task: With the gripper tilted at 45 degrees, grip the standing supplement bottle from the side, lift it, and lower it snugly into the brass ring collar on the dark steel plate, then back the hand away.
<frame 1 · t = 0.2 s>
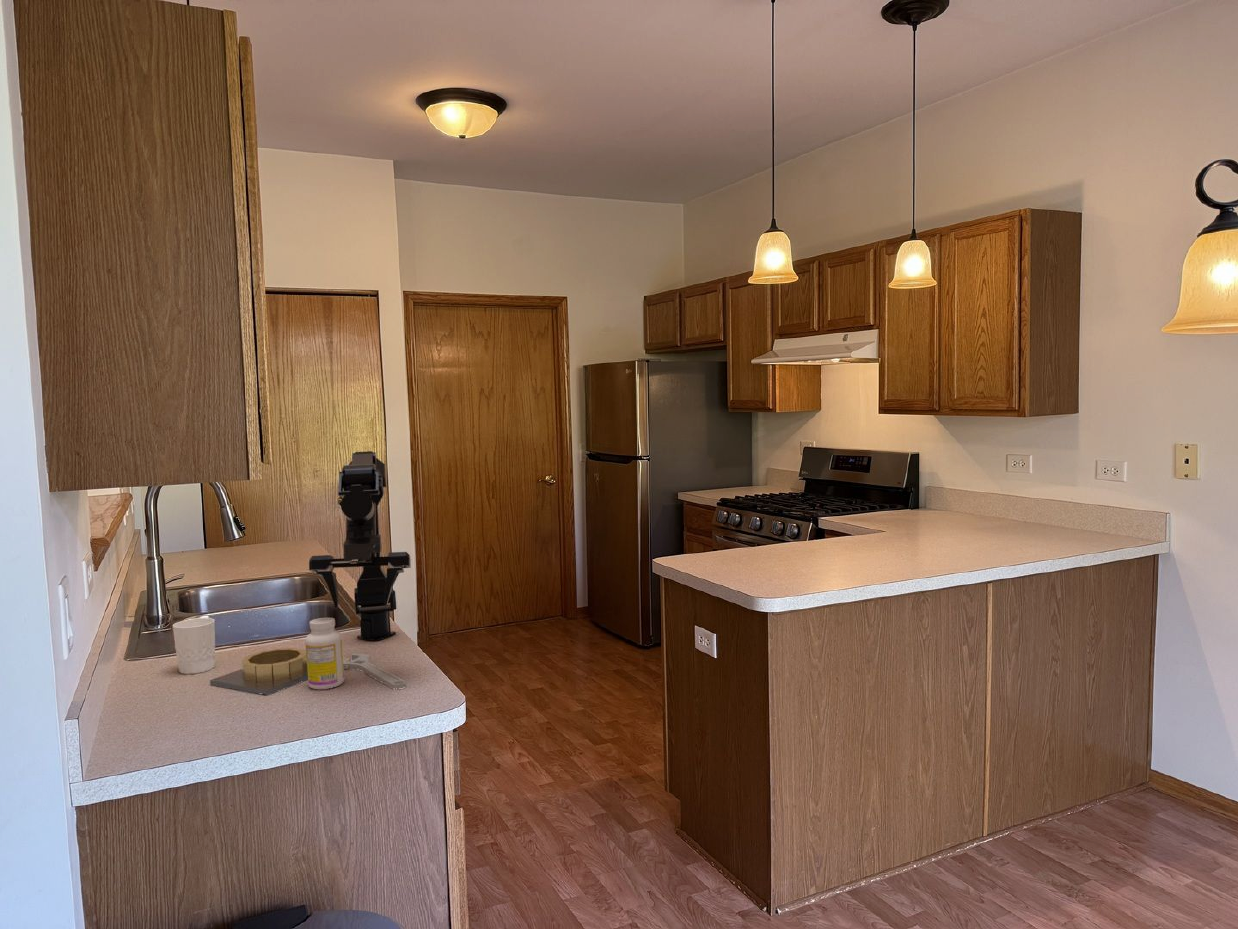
hand: (361, 606, 167), 15 cm above the countertop, tool tilted 15°, fingers open, 9 cm apart
white cup: (197, 670, 180), on the countertop
adjustable wrench: (370, 677, 173), on the countertop
ring collar: (275, 676, 174), on the countertop
supplement bottle: (326, 685, 167), on the countertop
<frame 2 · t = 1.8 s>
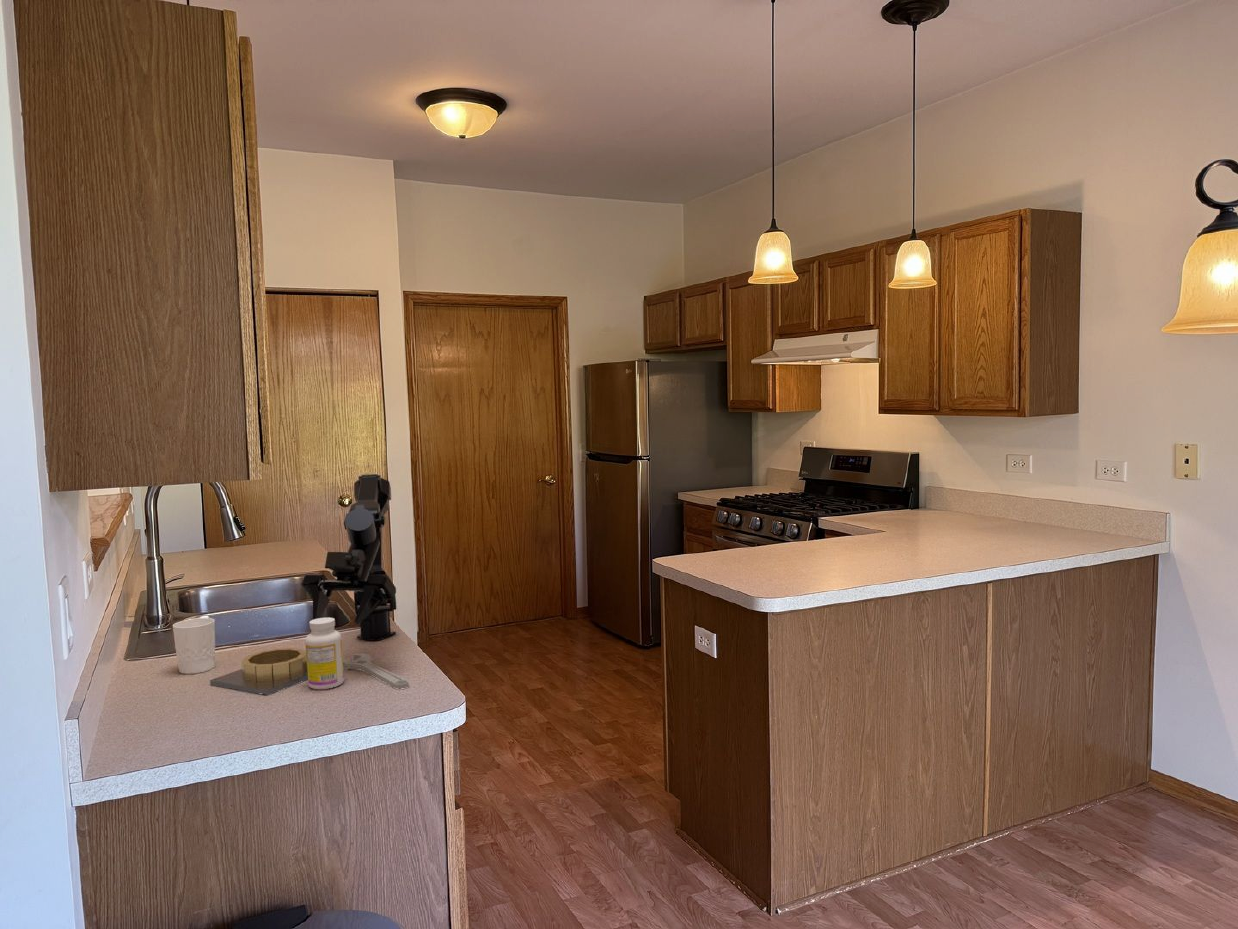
hand: (335, 622, 170), 11 cm above the countertop, tool tilted 45°, fingers open, 9 cm apart
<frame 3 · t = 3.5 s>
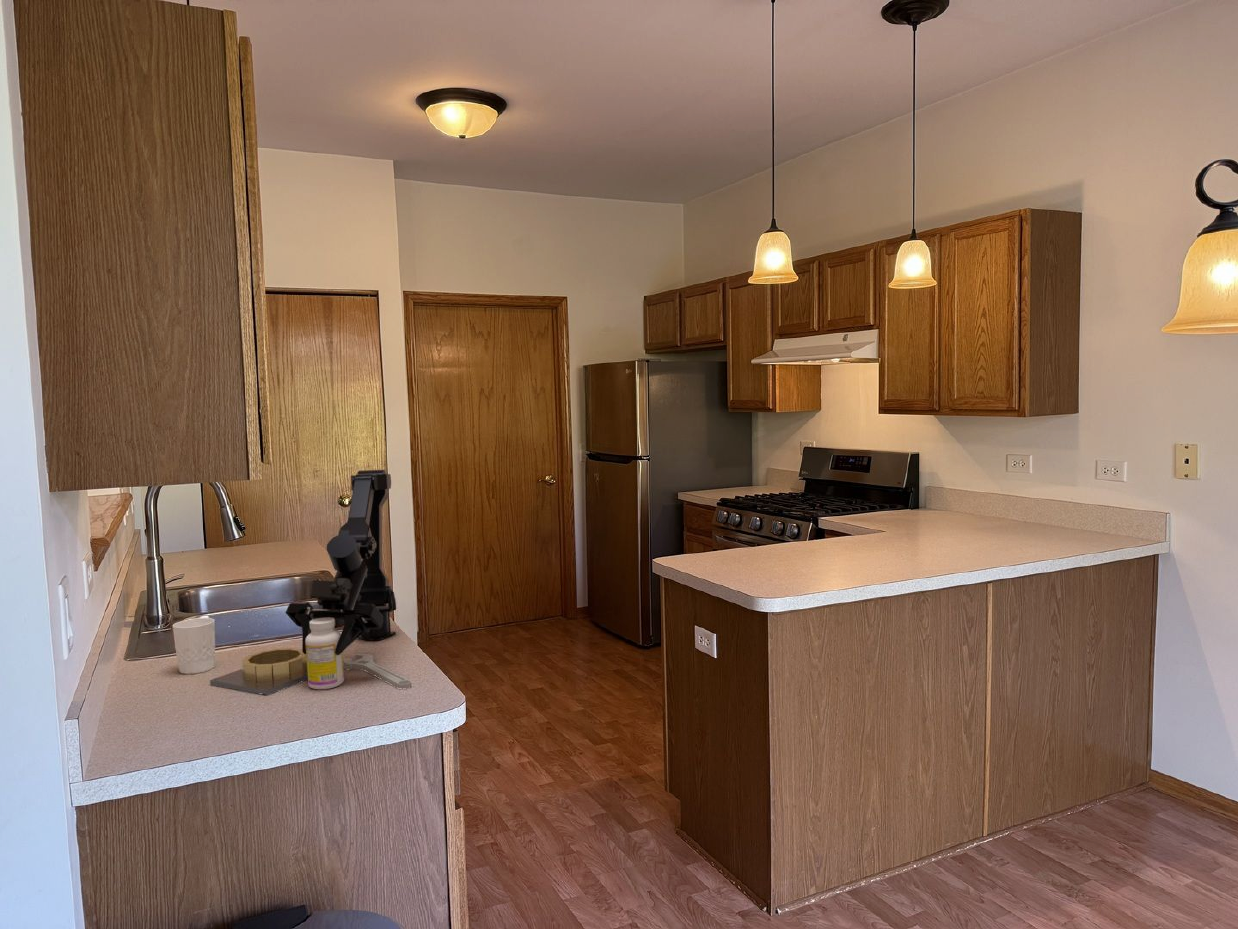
hand: (320, 653, 165), 7 cm above the countertop, tool tilted 45°, fingers closed on supplement bottle, 7 cm apart
supplement bottle: (326, 685, 167), on the countertop, touching gripper
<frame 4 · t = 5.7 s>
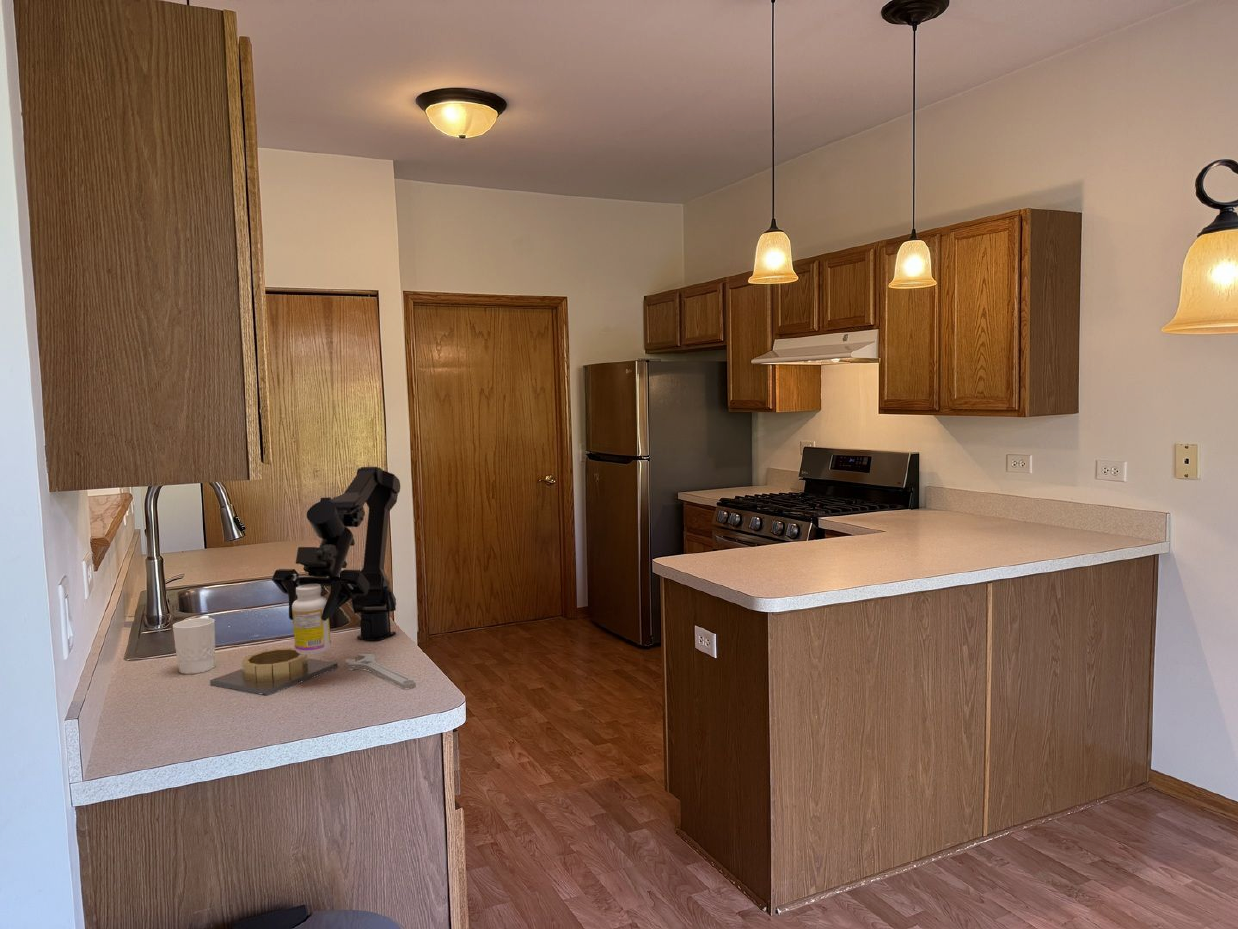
hand: (306, 619, 167), 13 cm above the countertop, tool tilted 45°, fingers closed on supplement bottle, 7 cm apart
supplement bottle: (313, 651, 169), point 6 cm above the countertop, touching gripper
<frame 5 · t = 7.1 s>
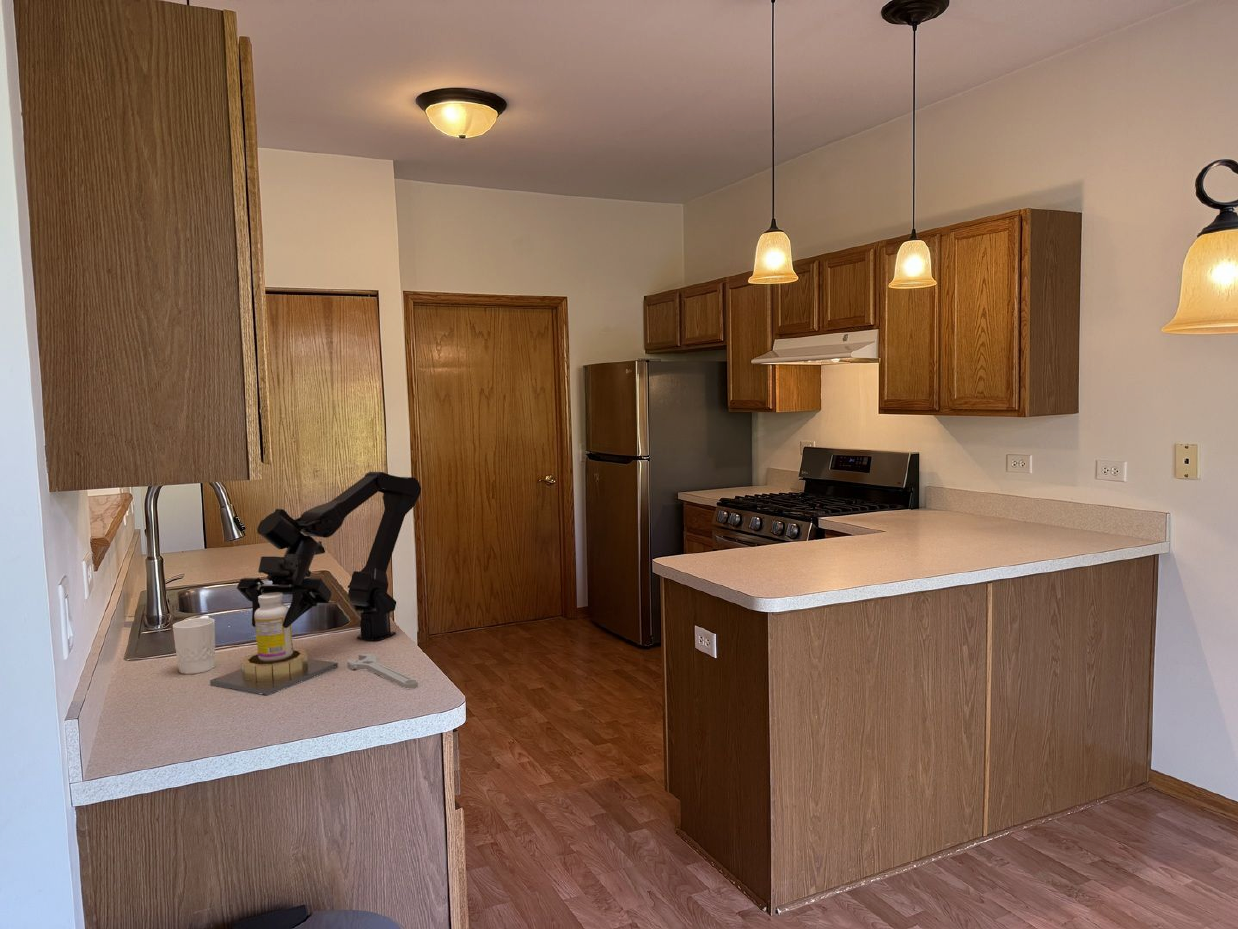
hand: (269, 626, 172), 11 cm above the countertop, tool tilted 45°, fingers closed on supplement bottle, 7 cm apart
supplement bottle: (275, 658, 173), point 4 cm above the countertop, touching gripper
when the fingers open (9 cm above the countertop, at t = 8.0 s): supplement bottle drops 1 cm, resting on ring collar.
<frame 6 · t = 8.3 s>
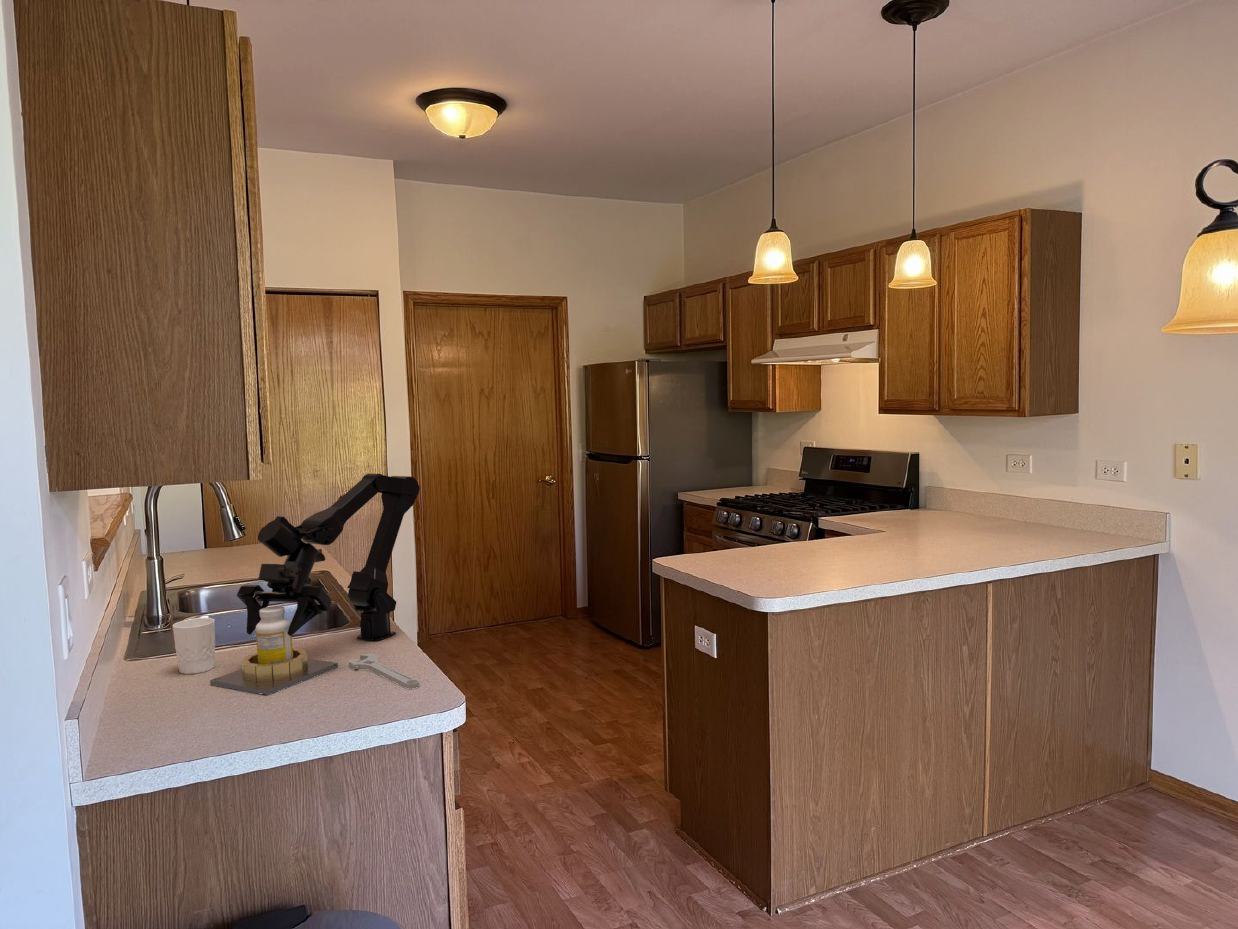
hand: (268, 634, 172), 9 cm above the countertop, tool tilted 45°, fingers open, 9 cm apart
supplement bottle: (276, 672, 174), point 1 cm above the countertop, touching ring collar
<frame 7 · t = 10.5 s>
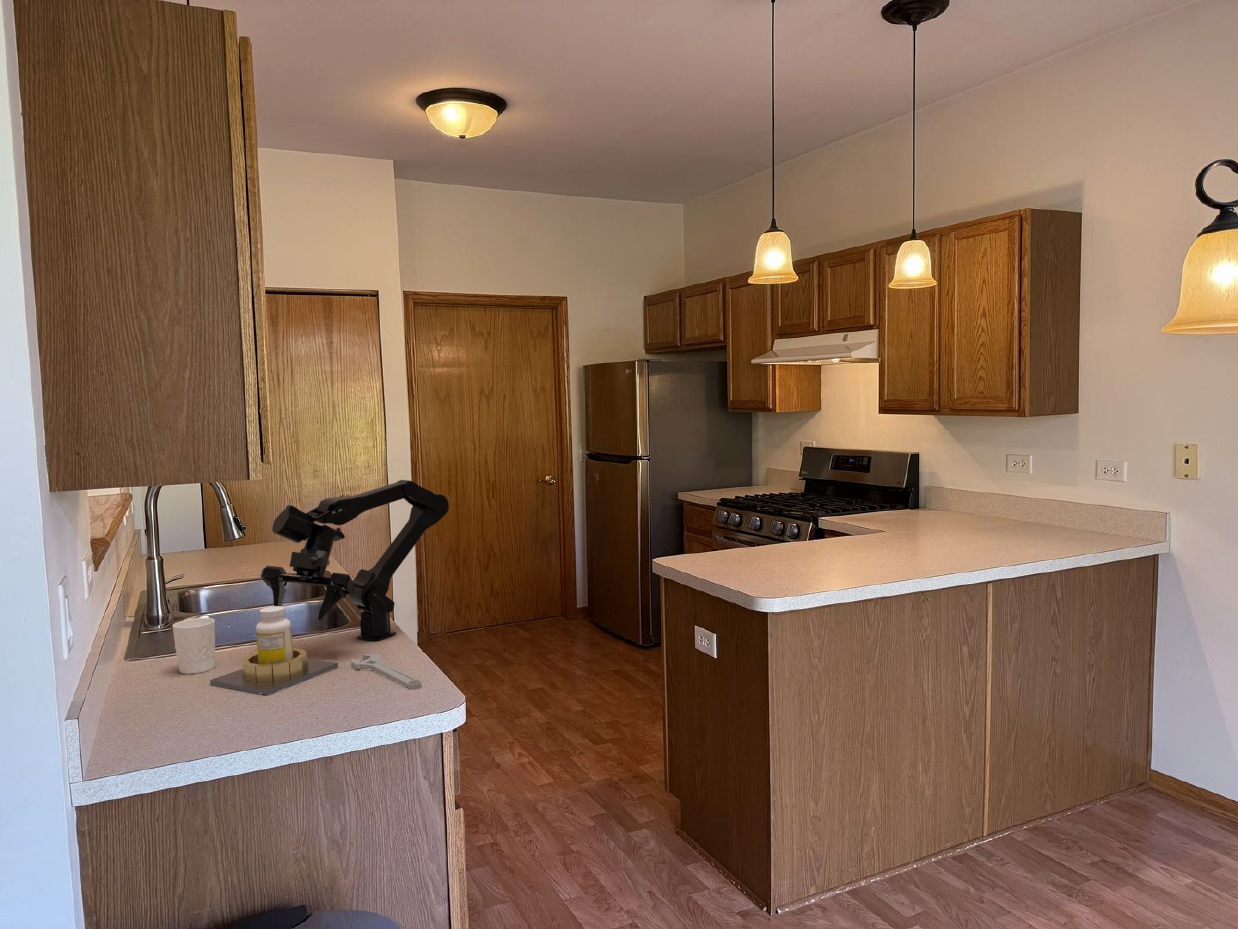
hand: (297, 617, 181), 10 cm above the countertop, tool tilted 35°, fingers open, 9 cm apart
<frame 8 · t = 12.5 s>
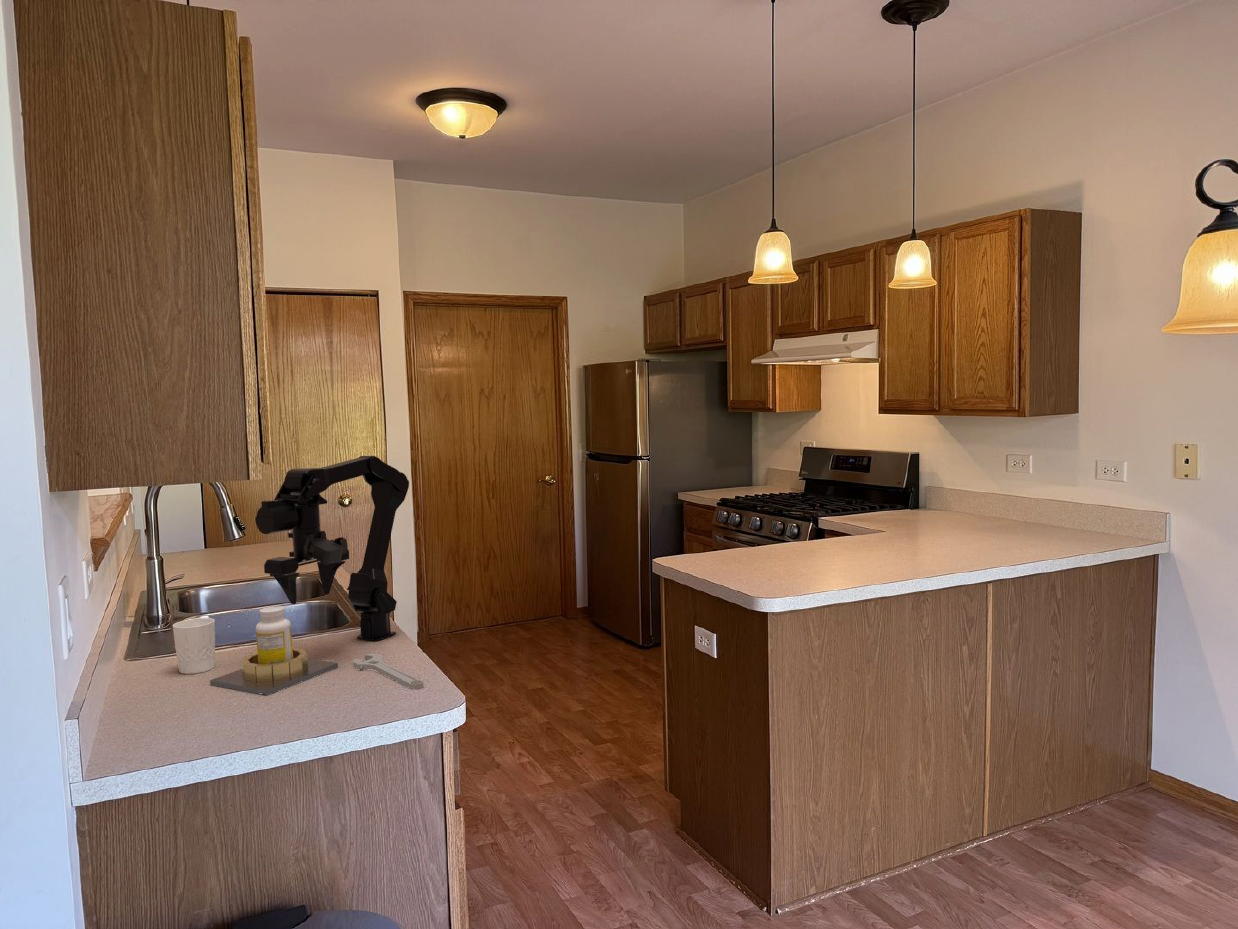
hand: (310, 599, 184), 13 cm above the countertop, tool pointing down, fingers open, 9 cm apart
at the end: supplement bottle 0.2 cm off-centre on the ring collar, point 0.8 cm above the ring collar's base; supplement bottle tilted 0°; the gripper is holding nothing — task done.
